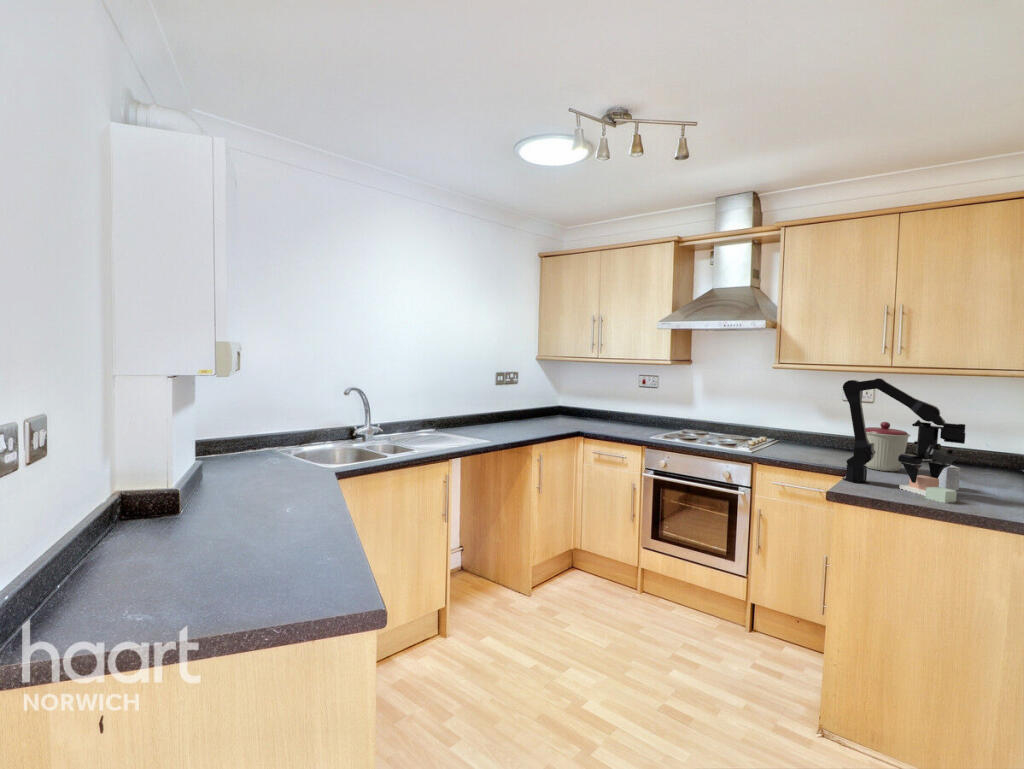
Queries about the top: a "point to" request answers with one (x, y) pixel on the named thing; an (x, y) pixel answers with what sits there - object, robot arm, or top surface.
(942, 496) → the pale green block
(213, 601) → the top surface
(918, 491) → the base plate
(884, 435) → the canister
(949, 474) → the medicine box
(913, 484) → the bottom brick
